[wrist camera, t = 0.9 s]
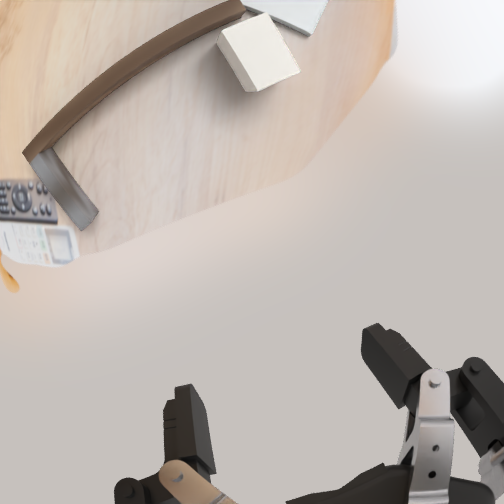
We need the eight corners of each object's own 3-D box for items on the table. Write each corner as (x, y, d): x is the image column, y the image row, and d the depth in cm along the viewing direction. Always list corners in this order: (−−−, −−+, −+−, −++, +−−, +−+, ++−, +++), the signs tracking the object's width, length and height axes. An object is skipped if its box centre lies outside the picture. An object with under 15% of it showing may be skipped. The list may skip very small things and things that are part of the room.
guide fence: (35, 145, 22) (22, 152, 19) (233, 5, 19) (237, -4, 16) (89, 218, 28) (81, 231, 25) (285, 93, 25) (295, 94, 22)
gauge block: (216, 43, 21) (221, 30, 16) (252, 27, 21) (266, 11, 16) (245, 91, 24) (258, 91, 19) (280, 75, 24) (301, 71, 19)
